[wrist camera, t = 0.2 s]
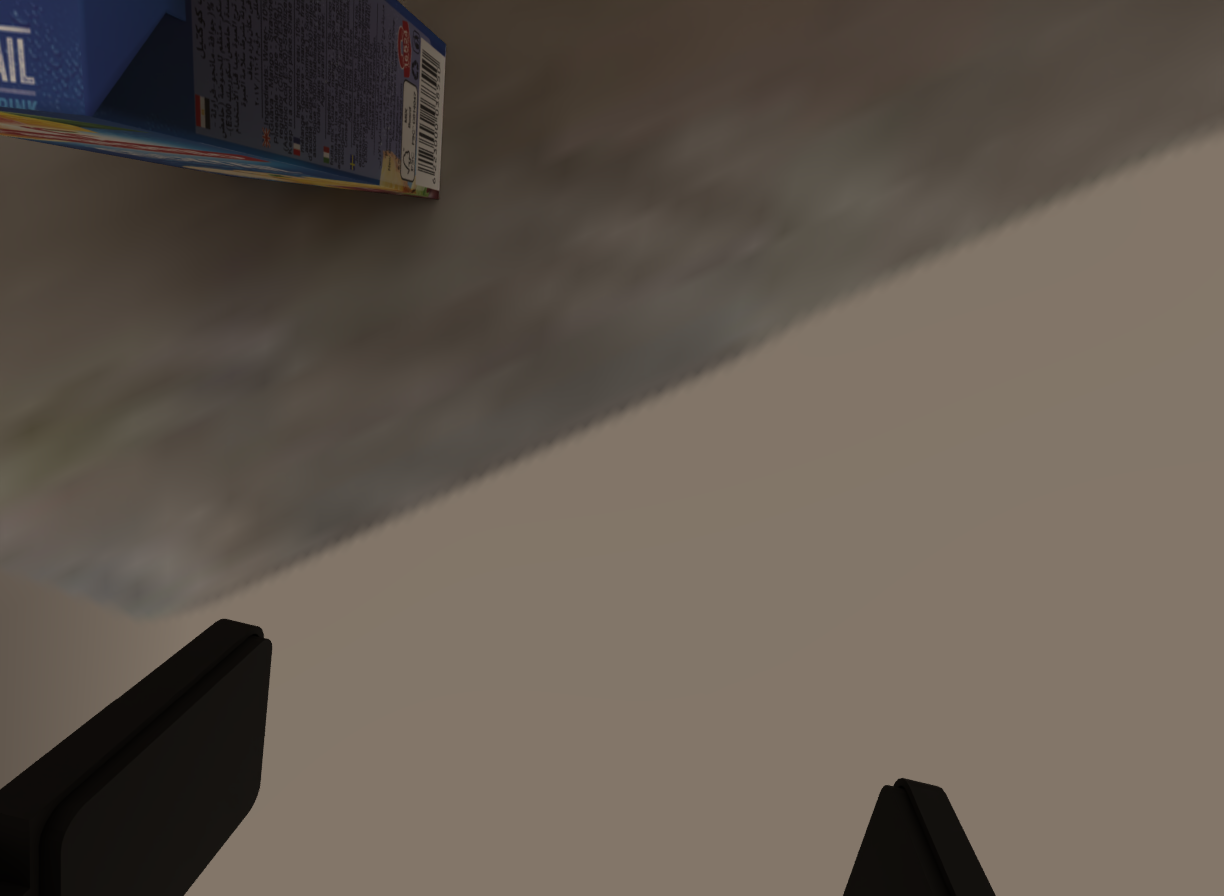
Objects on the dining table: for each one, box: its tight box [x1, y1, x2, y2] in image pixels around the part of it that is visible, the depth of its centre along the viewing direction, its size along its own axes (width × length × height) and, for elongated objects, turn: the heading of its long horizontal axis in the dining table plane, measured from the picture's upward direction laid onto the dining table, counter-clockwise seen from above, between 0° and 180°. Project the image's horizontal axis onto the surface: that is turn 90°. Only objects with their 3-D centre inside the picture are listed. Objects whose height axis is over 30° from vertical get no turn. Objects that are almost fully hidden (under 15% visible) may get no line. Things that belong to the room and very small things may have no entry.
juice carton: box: [0, 0, 446, 199], centre depth 27 cm, size 12×8×24 cm, turn 84°
